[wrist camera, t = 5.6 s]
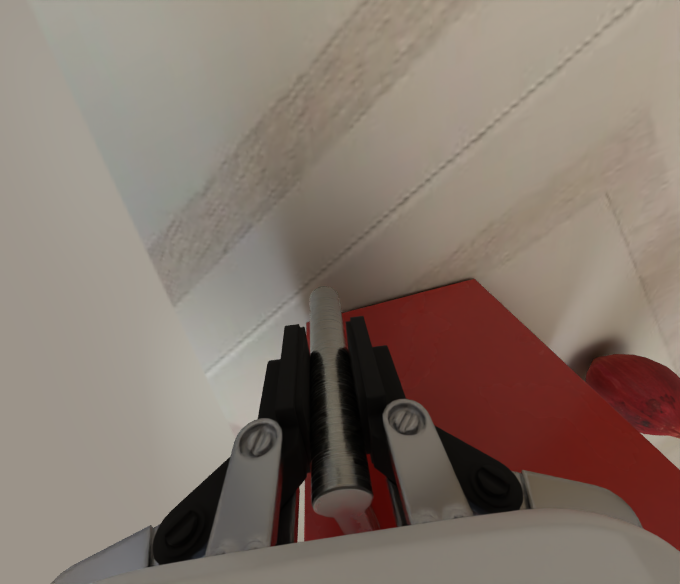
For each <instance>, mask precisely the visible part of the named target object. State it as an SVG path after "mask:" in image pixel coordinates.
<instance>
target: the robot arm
mask: <svg viewBox="0 0 680 584" xmlns="http://www.w3.org/2000/svg"><path fill="white" fill-rule="evenodd" d="M345 323H346V333H347V342H348V352H349V358H350V364H351V369H352V375H353V381H354V387H355V393H356V398H357V404H358V410H359V416H360V422H361V427H362V433H363V438H364V443H365V449H366V454H370V457H371V463H372V464H374V468H376V469H377V470H378V471H380V472H381V473H382V474H384V475H385V481H386V485H387V490H388V494H389V498H390V503H391V507H392V511H393V515H394V520H395V524H396V528H389V529H383V530H376V531H370V532H363V533H357V534H350V535H344V536H337V537H331V538H324V539H318V540H311V541H305V542H298V543H297V536H298V514H299V493H300V490H299V486H300V485H301V484H302V482H303V481H304V480H305V479H306V478H307V473H311V400H310V352H309V347H308V342H307V337H306V332H305V328H304V327H300V326H299V324H296V325H288V326H285V329H284V337H283V345H282V353H281V359H279V360H271V361H269V362H268V364H267V369H266V375H265V381H264V386H263V392H262V398H261V403H260V409H259V415H258V419H257V420H254V421H252V422H250V423H248V424H247V425H246V426H245V427H244V428H242V430H241V431H240V432H239V433H238V435H237V437H236V439H235V442H234V446H233V449H232V454H231V457H230V458H228V459H227V460H226V461H225V462H224V463H223V464H222V465H221V466H220V467H219V468H217V469H216V470H215V471H214V472H213V473H212V474H211V475H210V476H209V477H208V478H207V479H205V480H204V481H203V482H202V483H201V484H200V485H199V486H198V487H197V488H196V489H195V490H193V492H191V493H190V494H189V495H188V496H187V497H186V498H185V499H184V500H183V501H181V502H180V503H179V504H178V505H177V506H176V507H175V508H174V509H173V510H172V511H171V512H170V513H169V514H168V515H167V516H166V517H165V518H164V520H163V521H162V523H161V524H160V525H158V526H156V527H154V528H153V527H152V526H151V525H150V526H148V527H146V528H144V529H142V530H141V531H139V532H137V533H135V534H133V535H131V536H129V537H127V538H125V539H123V540H121V541H119V542H117V543H115V544H114V545H111V546H109V547H108V548H106V549H104V550H102V551H100V552H98V553H96V554H94V555H92V556H90V557H88V558H86V559H84V560H82V561H80V562H78V563H77V564H75V565H73V566H71V567H70V568H68V569H67V570H65V571H64V572H62V573H61V574H60V575H59V576H58V577H57V578H56V579H55V580H54V581H53V582H52V583H51V584H680V551H678V550H677V549H676V548H674V547H673V546H672V545H670V544H669V543H668V542H666V541H665V540H663V539H661V538H660V537H658V536H657V535H655V534H653V533H651V532H649V531H647V530H645V529H643V527H642V525H641V523H640V521H639V519H638V517H637V516H636V514H635V513H634V511H633V510H632V508H631V507H630V506H629V505H628V504H627V503H626V502H625V501H624V500H623V499H622V498H621V497H619V496H618V495H616V494H615V493H613V492H611V491H610V490H608V489H605V488H603V487H600V486H597V485H592V484H588V483H583V482H578V481H573V480H569V479H564V478H559V477H554V476H550V475H545V474H540V473H535V472H531V471H526V470H522V471H521V473H519V472H514V471H511V470H510V469H509V468H508V467H507V466H505V465H504V464H502V463H501V462H499V461H498V460H496V459H494V458H492V457H491V456H489V455H487V454H485V453H483V452H482V451H480V450H478V449H476V448H474V447H473V446H471V445H469V444H467V443H465V442H464V441H462V440H460V439H458V438H457V437H455V436H453V435H451V434H449V433H448V432H446V431H444V430H442V429H440V428H439V427H437V426H435V425H434V424H433V422H432V420H431V417H430V415H429V413H428V412H427V410H426V409H425V408H424V407H423V406H422V405H421V404H420V403H418V402H416V401H414V400H409V399H406V397H405V394H404V391H403V388H402V385H401V382H400V380H399V377H398V374H397V371H396V368H395V365H394V363H393V360H392V357H391V354H390V351H389V348H388V346H387V345H383V346H376V347H372V344H371V341H370V337H369V334H368V330H367V327H366V323H365V320H364V316H357V317H350V321H346V322H345Z"/></svg>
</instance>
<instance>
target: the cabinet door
mask: <svg viewBox="0 0 680 584" xmlns="http://www.w3.org/2000/svg"><path fill="white" fill-rule="evenodd" d="M357 316H364V320H365V323H366V327H367V330H368V334H369V337H370V341H371V344H372V347H376V346H383V345H387V346H388V348H389V351H390V354H391V357H392V360H393V363H394V365H395V368H396V371H397V374H398V377H399V380H400V382H401V385H402V388H403V391H404V394H405V397H406V399H409V400H414V401H416V402H418V403H420V404H421V405H422V406H423V407H424V408H425V409H426V410H427V412H428V413H429V415H430V417H431V420H432V422H433V424H434V425H435V426H437V427H439V428H440V429H442V430H444V431H446V432H448V433H449V434H451V435H453V436H455V437H457V438H458V439H460V440H462V441H464V442H465V443H467V444H469V445H471V446H473V447H474V448H476V449H478V450H480V451H482V452H483V453H485V454H487V455H489V456H491V457H492V458H494V459H496V460H498V461H499V462H501V463H502V464H504V465H505V466H507V467H508V468H509V469H510V470H511V471H514V472H519V473H521V471H522V470H526V471H531V472H535V473H540V474H545V475H550V476H554V477H559V478H564V479H569V480H573V481H578V482H583V483H588V484H592V485H597V486H600V487H603V488H605V489H608V490H610V491H611V492H613V493H615V494H616V495H618V496H619V497H621V498H622V499H623V500H624V501H625V502H626V503H627V504H628V505H629V506H630V507H631V508H632V510H633V511H634V513H635V514H636V516H637V517H638V519H639V521H640V523H641V525H642V527H643V529H645V530H647V531H649V532H651V533H653V534H655V535H657V536H658V537H660V538H661V539H663V540H665V541H666V542H668V543H669V544H670V545H672V546H673V547H674V548H676V549H677V550H678V551H680V470H679V469H678V468H677V467H676V466H675V465H674V464H673V463H672V462H670V461H669V460H668V459H667V458H666V457H665V456H664V455H663V454H662V453H661V452H660V451H659V450H658V449H657V448H655V447H654V446H653V445H652V444H651V443H650V442H649V441H648V440H647V439H646V438H645V437H644V436H643V435H642V434H640V433H639V432H638V431H637V430H636V429H635V428H634V427H633V426H632V425H631V424H630V423H629V422H628V421H626V420H625V419H624V418H623V417H622V416H621V415H620V414H619V413H618V412H617V411H616V410H615V409H614V408H613V407H611V406H610V405H609V404H608V403H607V402H606V401H605V400H604V399H603V398H602V397H601V396H600V395H599V394H598V393H596V392H595V391H594V390H593V389H592V388H591V387H590V386H589V385H588V384H587V383H586V382H585V381H584V380H583V379H581V378H580V377H579V376H578V375H577V374H576V373H575V372H574V371H573V370H572V369H571V368H570V367H569V366H568V365H566V364H565V363H564V362H563V361H562V360H561V359H560V358H559V357H558V356H557V355H556V354H555V353H554V352H553V351H551V350H550V349H549V348H548V347H547V346H546V345H545V344H544V343H543V342H542V341H541V340H540V339H539V338H538V337H536V336H535V335H534V334H533V333H532V332H531V331H530V330H529V329H528V328H527V327H526V326H525V325H524V324H522V323H521V322H520V321H519V320H518V319H517V318H516V317H515V316H514V315H513V314H512V313H511V312H510V311H509V310H507V309H506V308H505V307H504V306H503V305H502V304H501V303H500V302H499V301H498V300H497V299H496V298H495V297H494V296H492V295H491V294H490V293H489V292H488V291H487V290H486V289H485V288H484V287H483V286H482V285H481V284H480V283H479V282H477V281H476V280H475V279H471V280H467V281H464V282H460V283H456V284H452V285H448V286H444V287H441V288H437V289H433V290H429V291H425V292H421V293H418V294H414V295H410V296H406V297H402V298H398V299H394V300H391V301H387V302H383V303H379V304H375V305H371V306H368V307H364V308H360V309H356V310H352V311H348V312H345V313H342V312H341V307H340V301H339V296H338V293H337V292H336V291H335V290H334V289H333V288H331V287H327V286H322V287H319V288H317V289H315V290H314V291H313V292H312V293H311V295H310V322H307V323H306V337H307V342H308V347H309V352H310V400H311V473H307V478H306V479H305V522H304V542H305V541H311V540H318V539H324V538H331V537H337V536H344V535H350V534H357V533H363V532H370V531H376V530H383V529H389V528H396V524H395V520H394V515H393V511H392V507H391V503H390V498H389V494H388V490H387V485H386V481H385V475H384V474H382V473H381V472H380V471H378V470H377V469H376V468H374V464H372V463H371V457H370V454H366V449H365V443H364V438H363V433H362V427H361V422H360V416H359V410H358V404H357V398H356V393H355V387H354V381H353V375H352V369H351V364H350V358H349V352H348V342H347V333H346V323H345V322H346V321H350V317H357Z"/></svg>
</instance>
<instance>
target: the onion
mask: <svg viewBox="0 0 680 584" xmlns="http://www.w3.org/2000/svg"><path fill="white" fill-rule="evenodd" d="M586 383H587V384H588V385H589V386H590V387H591V388H592V389H593V390H594V391H595V392H596V393H598V394H599V395H600V396H601V397H602V398H603V399H604V400H605V401H606V402H607V403H608V404H609V405H610V406H611V407H613V408H614V409H615V410H616V411H617V412H618V413H619V414H620V415H621V416H622V417H623V418H624V419H625V420H626V421H628V422H629V423H630V424H631V425H632V426H633V427H634V428H635V429H636V430H637V431H638V432H640V433H643V434H650V435H668V436H673V437H676V438H680V378H679V377H678V376H677V374H675V373H674V372H673V371H671V370H670V369H669V368H668V367H666V366H664V365H662V364H660V363H657V362H655V361H653V360H650V359H648V358H645V357H641V356H637V355H626V354H613V355H607V356H600V357H596V358H595V359H593V361H592V363H591V365H590V367H589V369H588V371H587V374H586Z"/></svg>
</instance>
